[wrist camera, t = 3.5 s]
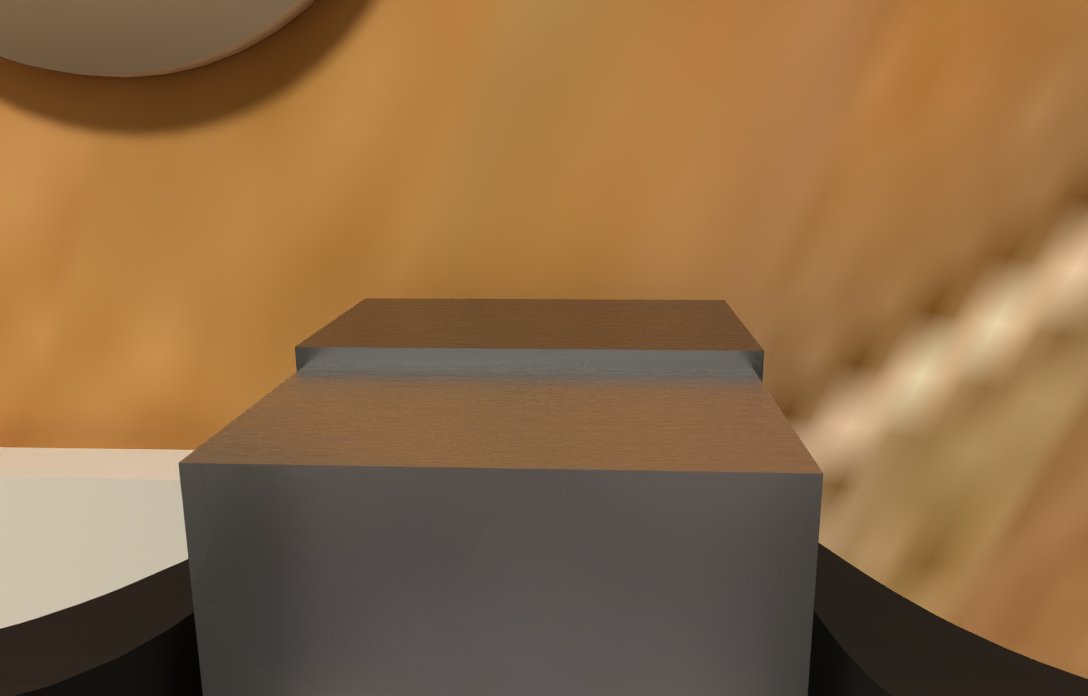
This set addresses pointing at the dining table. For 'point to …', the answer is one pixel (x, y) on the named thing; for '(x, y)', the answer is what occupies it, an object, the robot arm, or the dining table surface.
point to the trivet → (84, 524)
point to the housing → (508, 510)
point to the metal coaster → (136, 33)
